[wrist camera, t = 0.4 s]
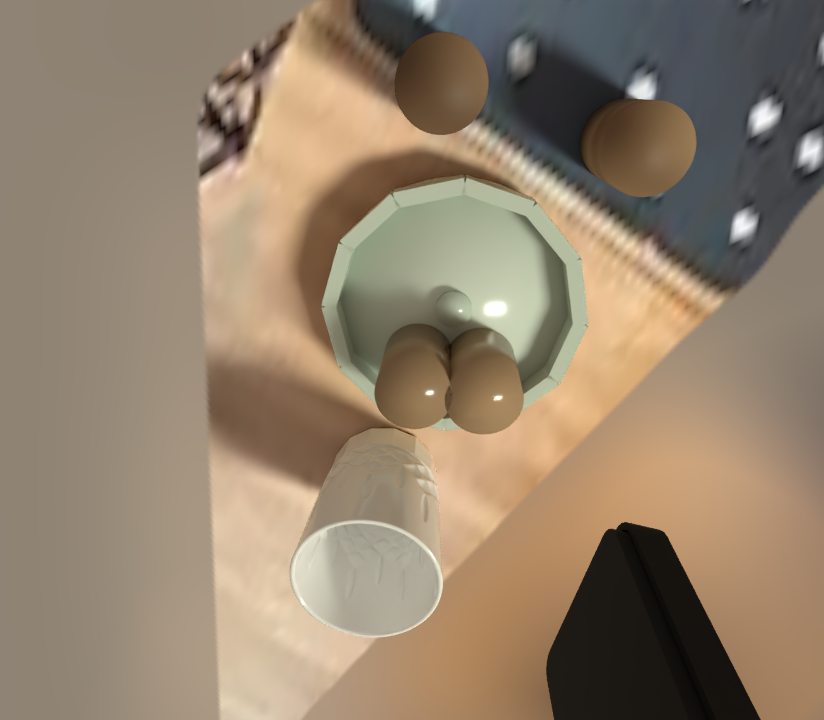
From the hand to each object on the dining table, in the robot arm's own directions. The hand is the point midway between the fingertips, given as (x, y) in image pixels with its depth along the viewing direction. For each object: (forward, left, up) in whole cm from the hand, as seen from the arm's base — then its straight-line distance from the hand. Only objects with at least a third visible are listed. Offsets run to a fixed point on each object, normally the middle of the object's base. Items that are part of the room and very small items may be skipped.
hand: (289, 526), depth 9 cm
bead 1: (-5, -3, -26) cm, 27 cm away
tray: (+2, +6, -26) cm, 27 cm away
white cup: (+13, +12, -27) cm, 32 cm away
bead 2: (-10, +5, -26) cm, 29 cm away
